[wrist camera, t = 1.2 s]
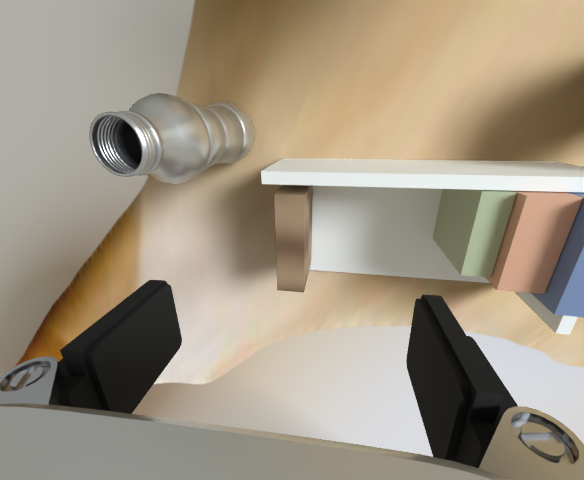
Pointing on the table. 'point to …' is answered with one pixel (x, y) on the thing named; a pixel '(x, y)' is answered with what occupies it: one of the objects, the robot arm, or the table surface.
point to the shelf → (406, 211)
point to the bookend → (293, 235)
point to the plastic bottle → (171, 138)
